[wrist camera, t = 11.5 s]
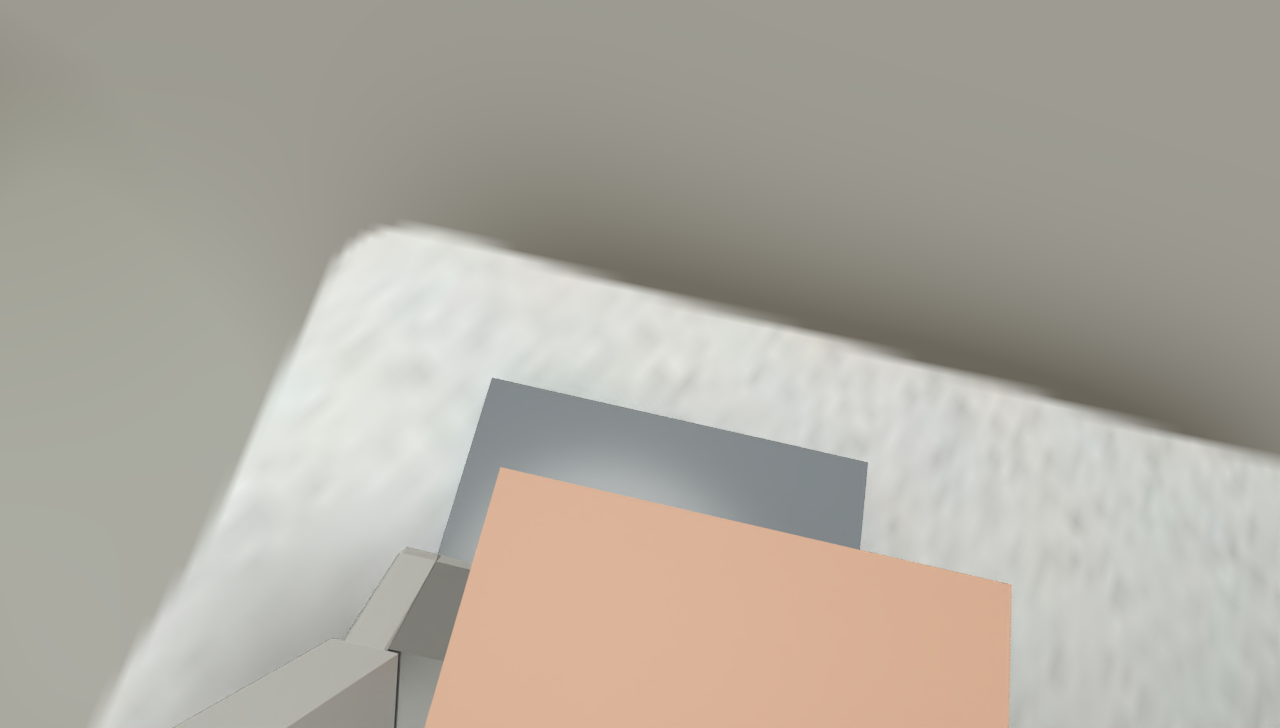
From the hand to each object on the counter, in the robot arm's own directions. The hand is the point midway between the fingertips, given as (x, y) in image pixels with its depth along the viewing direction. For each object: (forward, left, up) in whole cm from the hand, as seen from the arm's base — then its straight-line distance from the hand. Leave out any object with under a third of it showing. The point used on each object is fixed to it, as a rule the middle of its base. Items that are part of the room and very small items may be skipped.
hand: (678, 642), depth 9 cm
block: (0, 0, -4) cm, 4 cm away
